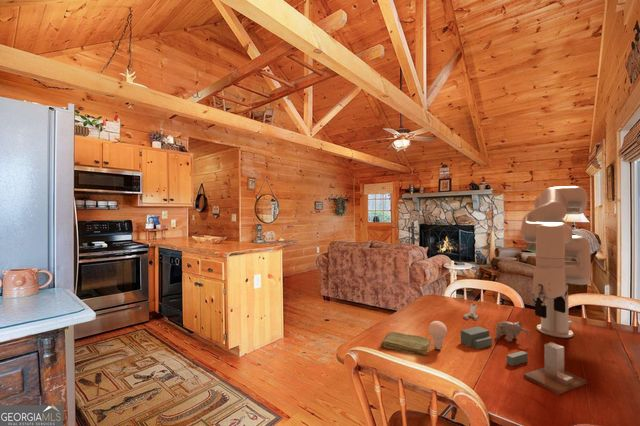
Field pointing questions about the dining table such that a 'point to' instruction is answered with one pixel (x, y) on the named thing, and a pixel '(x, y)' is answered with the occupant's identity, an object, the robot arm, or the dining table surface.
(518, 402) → the dining table surface
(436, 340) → the light bulb
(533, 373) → the walnut board
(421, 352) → the washcloth
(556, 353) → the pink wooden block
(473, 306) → the adjustable wrench
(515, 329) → the grey monster figurine
